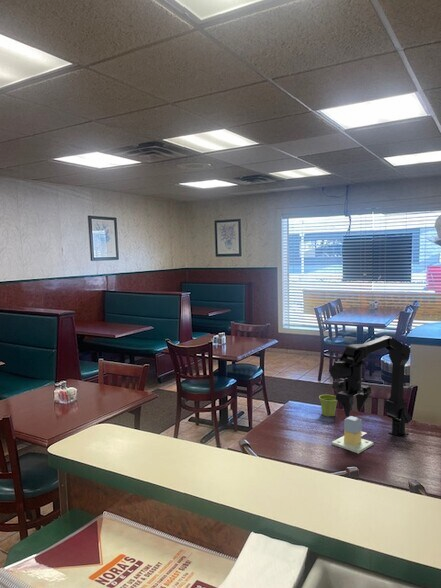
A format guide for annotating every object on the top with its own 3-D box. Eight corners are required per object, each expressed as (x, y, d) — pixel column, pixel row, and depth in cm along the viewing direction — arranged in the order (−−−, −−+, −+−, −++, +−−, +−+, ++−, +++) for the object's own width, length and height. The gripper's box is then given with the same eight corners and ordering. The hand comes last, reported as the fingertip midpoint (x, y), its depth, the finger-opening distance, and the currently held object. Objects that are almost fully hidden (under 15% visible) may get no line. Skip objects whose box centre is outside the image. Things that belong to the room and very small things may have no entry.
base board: (347, 436, 188) (347, 433, 188) (373, 444, 180) (373, 441, 180) (331, 444, 180) (331, 441, 180) (358, 453, 171) (358, 450, 171)
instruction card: (356, 430, 195) (356, 429, 195) (367, 433, 191) (367, 432, 191) (349, 433, 191) (349, 433, 191) (360, 437, 187) (360, 436, 187)
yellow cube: (361, 442, 180) (361, 430, 179) (355, 445, 176) (355, 433, 176) (350, 438, 183) (350, 427, 183) (344, 441, 180) (344, 430, 180)
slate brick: (361, 430, 179) (361, 418, 179) (355, 433, 176) (355, 421, 176) (350, 426, 183) (350, 415, 183) (344, 430, 179) (344, 418, 179)
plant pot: (340, 413, 216) (341, 396, 215) (334, 419, 208) (335, 401, 207) (322, 410, 221) (322, 393, 220) (316, 415, 213) (316, 398, 212)
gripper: (348, 368, 190) (347, 403, 191) (324, 376, 177) (323, 414, 178) (372, 373, 182) (371, 410, 183) (349, 382, 169) (348, 421, 170)
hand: (353, 413), depth 179 cm, fingers open, 9 cm apart
